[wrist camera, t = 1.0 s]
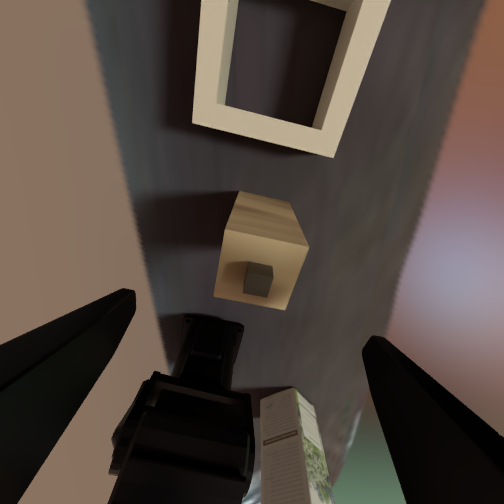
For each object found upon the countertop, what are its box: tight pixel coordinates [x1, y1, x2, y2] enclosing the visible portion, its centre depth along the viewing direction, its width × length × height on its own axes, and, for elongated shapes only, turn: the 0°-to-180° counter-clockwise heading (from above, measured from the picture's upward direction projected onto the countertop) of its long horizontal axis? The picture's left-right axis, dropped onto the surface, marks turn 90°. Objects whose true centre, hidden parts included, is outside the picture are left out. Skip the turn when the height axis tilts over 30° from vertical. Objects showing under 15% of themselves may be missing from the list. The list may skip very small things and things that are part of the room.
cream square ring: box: [192, 0, 391, 158], centre depth 12 cm, size 8×8×3 cm
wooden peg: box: [213, 191, 309, 310], centre depth 14 cm, size 4×4×9 cm
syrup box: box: [260, 388, 335, 504], centre depth 24 cm, size 6×6×14 cm
